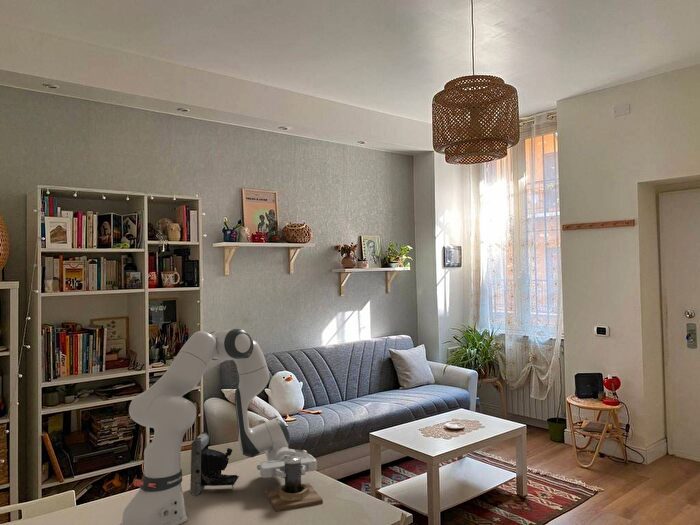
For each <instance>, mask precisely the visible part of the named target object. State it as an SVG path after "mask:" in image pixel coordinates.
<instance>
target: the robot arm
mask: <svg viewBox="0 0 700 525" xmlns="http://www.w3.org/2000/svg"><path fill="white" fill-rule="evenodd" d="M211 361H233V362H234V363H235V366H236V369H237V373H238V377H239V380H238V381H239V384H238V387H236V389H235V390H234V404H235V413H236V422H237V433H238V440H237V441H238V448H239V450H240V452H241V454H242V455H243V456H245V457H248V458H254V457H256V456H258V455H260V453H263V452H264V453H265V456H266V460H265V461H261V462H260V464H258V465H257V466H256V468H257V469H256V470H258V471H260V472H259V474H260V477H261V478H263V479H268V478H269V479H270V478H277V477H279V478H280V479H285V478H286V476H285V475H286V472H285V463H284V459H285V458H286V457H289V456H299V457H301V476H305V475H306V473H308V472H309V473H310V472H314V471H317V468H318V462H317V459H316V458H315V457H314V456H313V455H312V454H310V453H308V452H307V450H305V449H294V448H293V449H292V448H289V447H290V446H289V445H290V444H291V436H290V432H289V430H288V427H287V426H286V424H285V423H284V422H283V420H281V419H279V418H275V417H274V418H273V419H270V420H267V421H264V422H263V423H260V424H259V425H255V426H253V427H250V423H249V422H250V421H249V414H248V407H249V405H250V403H251V402H252V401H253V399H254V398H255V397H257V396H258V395H259V394H260V393H261V392H263V390H264V389H265V388H266V387H267V385H268V383H269V381H270V372H269V367H268V364H267V363H268V362H267V361H266V357H265V355H264V353H263V350H262V348H261V346H260V345H259V343H258V342H257V341H256V340H254V339H252V337H251V335H250V334H249V333H248V332H247V331H245V330H244V329H241V328H233V329H231V328H229V329H221V330H217V331H212V332H207V331H203V330H198V331H196V332H194V333H193V334H191V336H190V337H189V338H188V339H187V341H185V343H184V344H183V345H182V346H181V349H180V350H179V352H178V353H177V355H176V356H175V358H174V359H173V360H172V362H171V363H170V365H169V366H168V369H166V371H165V372H164V374H162V376H161V377H160V378H159V379H158V380H156V381H155V383H154V384H152V385H151V386H150V387H149V388H148V389H146V390H144V391H143V392H141V393H140V394H137V395H136V396H134V397H133V398H132V400H131V402H130V403H129V407H128V414H129V418H131V420H132V421H134V422H135V423H136V424H138V425H140V426H142V427H147V428H151V429H153V431H154V433H153V438H152V440H151V442H150V443H149V444H147V446H146V447H145V448H144V452H143V456H144V458H143V459H144V460H143V466H144V467H143V468H144V469H143V470H144V472H143V475H142V478H141V479H138V478H136V479H134V481H133V486H134V487H139V490H138V491H137V492H136V493H135V495H134V496H133V497H132V499H131V500H130V502H128V504H127V505H126V506H125V508H124V509H123V512H122V520H121V522H120V523H119V524H118V525H181V524H183V523H185V522H186V521H188V516H187V510H186V507H185V499H184V493H183V492H184V491H183V489H182V481H183V470H182V468H181V457H182V456H181V454H182V444H183V439H184V436H185V434H186V433H187V431H188V430H189V429H190V428H191V427H192V426H193V424H194V423H195V421H196V417H197V408H196V406H195V404H194V402H192V401H190V400H189V399H187V398H185V397H184V395H186V394H188V393H189V392H192V391H193V390H195V388H197V386H198V385H199V383H200V381H201V379H202V378H203V375H204V374H205V372H206V371H207V368H208V367H209V365H210V363H211Z"/></svg>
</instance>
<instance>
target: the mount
mask: <svg viewBox="0 0 700 525" xmlns="http://www.w3.org/2000/svg"><path fill="white" fill-rule="evenodd" d="M265 495H266V496H267V499H268V500H269V502H270V503H271V505H272V507H273V509H274V511H275V512H279V511H280V512H281V511H287V510H291V509H298V508H304V507H308V506H314V505H318V504H319V505H320V504H323V503H324V502H323V501H324V500H323V498H322V497H321V496H320V494H319V493H318V492H317V491H316V490H315V488H314V487H313V486H312V484H310V483H309V482H307V483H306V482H305V483H301V492H298V493H292V494H291V493H286V492H285V484H283V485H282V486H280V487H275V488H270V489H265Z"/></svg>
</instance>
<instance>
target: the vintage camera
mask: <svg viewBox="0 0 700 525" xmlns="http://www.w3.org/2000/svg"><path fill="white" fill-rule="evenodd" d="M209 439H210V436H209V434H208V433H207V432H204V431H201V433H200V434H199V435H198V436H197V437H196V438H194V440H193V441H192V443H191V450H190V451H191V454H190V493H191V495H192V496H198V495H199V494H200V493H201V492H202V490H203V489H204V488H205V487H218V486H219V487H221V486H232V491H234V486H235V484H236V483H237V481H238V479H239V478H240V475H238V474H223V473H222V471H223V472H224V471H226V468H227V467H228V464H229V460H230V458H229V457H230V456H231V455H232V452H233V448H230V447H228V448H226V452H225V453H224V452H222V451H219V450H215V449H211V448H209V442H210V440H209Z"/></svg>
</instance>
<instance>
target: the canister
mask: <svg viewBox="0 0 700 525" xmlns="http://www.w3.org/2000/svg"><path fill="white" fill-rule="evenodd" d="M284 463H285V472H286V475H285V476H286V478H284V485H285V492H286V493H291V494H292V493H298V492H301V484H302V475H301V457H299V456H289V457H286V458H285V459H284Z"/></svg>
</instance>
